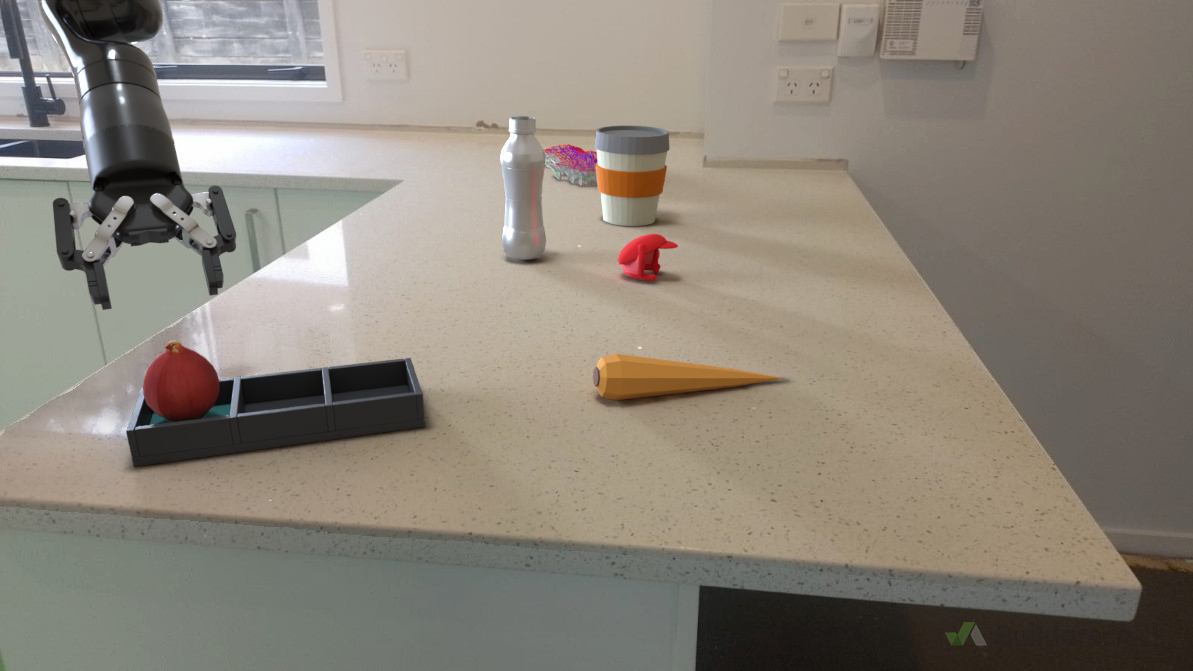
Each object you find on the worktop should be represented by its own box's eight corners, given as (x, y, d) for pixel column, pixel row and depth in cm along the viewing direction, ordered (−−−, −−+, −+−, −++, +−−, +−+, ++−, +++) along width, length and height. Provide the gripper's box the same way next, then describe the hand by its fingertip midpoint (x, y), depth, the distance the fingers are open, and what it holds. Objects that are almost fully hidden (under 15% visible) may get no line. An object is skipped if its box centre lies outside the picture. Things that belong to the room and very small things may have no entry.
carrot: (594, 410, 80) (604, 378, 77) (586, 375, 83) (596, 343, 80) (783, 409, 86) (799, 379, 83) (769, 376, 89) (784, 347, 86)
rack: (133, 467, 68) (125, 431, 67) (147, 420, 75) (140, 387, 74) (424, 426, 75) (422, 393, 74) (412, 388, 82) (410, 357, 81)
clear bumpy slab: (531, 160, 192) (531, 137, 190) (595, 158, 196) (595, 135, 194) (560, 188, 165) (560, 162, 163) (633, 186, 169) (634, 160, 167)
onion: (155, 414, 74) (138, 330, 71) (226, 405, 76) (213, 323, 73) (147, 446, 69) (129, 357, 66) (223, 435, 71) (208, 348, 68)
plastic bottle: (504, 265, 119) (501, 121, 111) (499, 251, 125) (496, 114, 118) (549, 263, 120) (549, 121, 113) (542, 250, 126) (542, 114, 119)
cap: (622, 285, 112) (624, 241, 110) (613, 271, 118) (615, 229, 115) (680, 283, 114) (682, 240, 111) (668, 269, 119) (671, 228, 117)
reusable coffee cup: (680, 219, 145) (685, 131, 139) (633, 233, 136) (637, 139, 131) (624, 206, 153) (628, 122, 147) (577, 218, 144) (579, 130, 138)
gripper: (32, 125, 72) (60, 291, 68) (211, 117, 79) (248, 267, 74) (48, 175, 79) (74, 329, 74) (212, 163, 85) (246, 304, 80)
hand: (161, 298), depth 74 cm, fingers open, 8 cm apart
